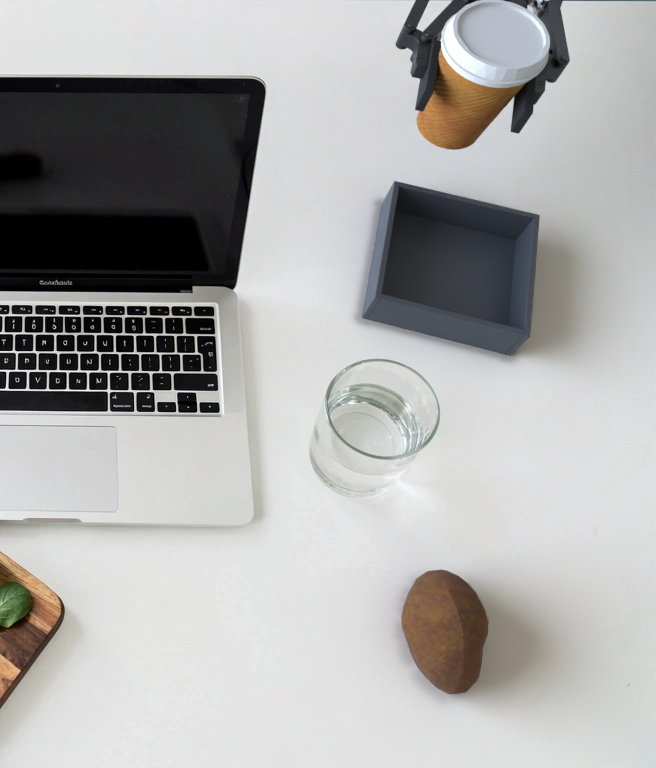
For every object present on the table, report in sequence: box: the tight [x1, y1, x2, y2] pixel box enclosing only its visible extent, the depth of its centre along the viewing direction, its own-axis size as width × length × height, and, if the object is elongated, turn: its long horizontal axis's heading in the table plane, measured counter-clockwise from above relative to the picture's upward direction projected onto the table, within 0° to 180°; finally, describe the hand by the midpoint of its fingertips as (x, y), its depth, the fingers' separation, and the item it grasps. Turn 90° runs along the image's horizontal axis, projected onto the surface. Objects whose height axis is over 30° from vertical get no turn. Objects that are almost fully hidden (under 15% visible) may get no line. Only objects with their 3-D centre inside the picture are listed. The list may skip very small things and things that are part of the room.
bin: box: [361, 180, 541, 357], centre depth 94 cm, size 15×15×5 cm
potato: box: [400, 569, 489, 695], centre depth 77 cm, size 7×10×7 cm
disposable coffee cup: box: [416, 0, 550, 151], centre depth 86 cm, size 10×10×12 cm
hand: (472, 111), depth 83 cm, fingers closed on disposable coffee cup, 8 cm apart
